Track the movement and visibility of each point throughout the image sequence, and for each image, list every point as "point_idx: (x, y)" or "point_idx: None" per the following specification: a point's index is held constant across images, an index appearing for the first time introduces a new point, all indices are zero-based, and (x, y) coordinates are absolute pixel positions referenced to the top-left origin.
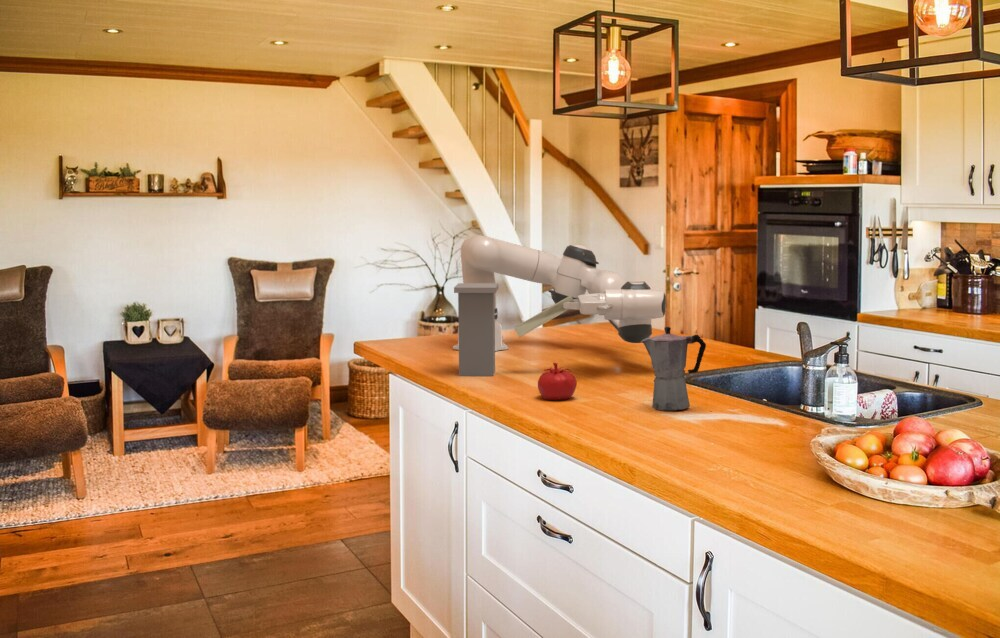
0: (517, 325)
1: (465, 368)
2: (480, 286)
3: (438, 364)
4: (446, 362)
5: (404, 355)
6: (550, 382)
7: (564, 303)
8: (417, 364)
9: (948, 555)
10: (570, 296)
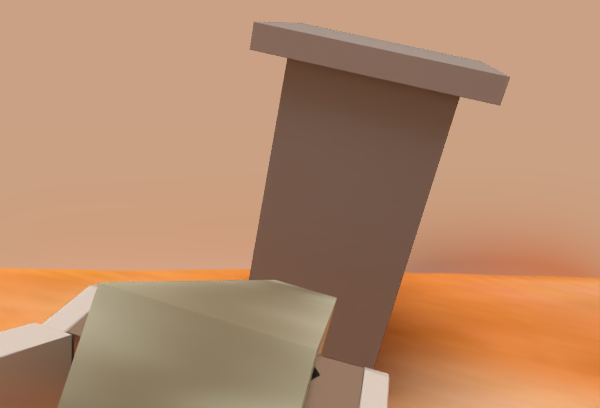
0: (335, 298)
1: None
2: (329, 33)
3: (461, 320)
4: (499, 342)
5: (585, 300)
6: None
7: (92, 295)
8: (455, 288)
9: None
10: (147, 295)
